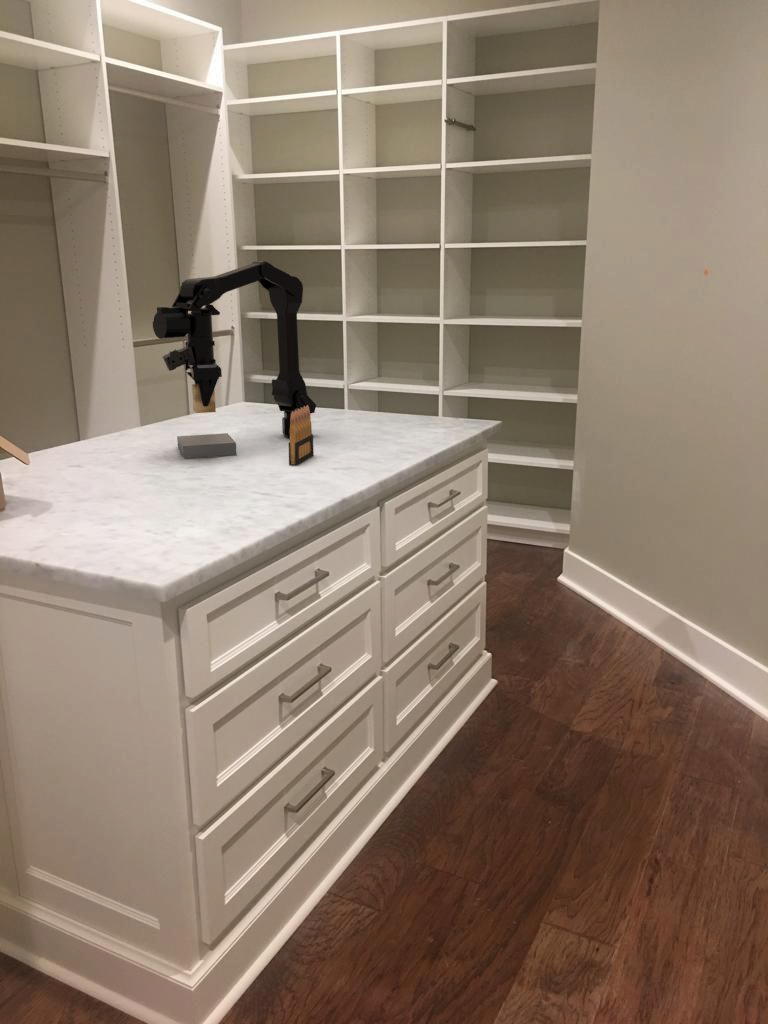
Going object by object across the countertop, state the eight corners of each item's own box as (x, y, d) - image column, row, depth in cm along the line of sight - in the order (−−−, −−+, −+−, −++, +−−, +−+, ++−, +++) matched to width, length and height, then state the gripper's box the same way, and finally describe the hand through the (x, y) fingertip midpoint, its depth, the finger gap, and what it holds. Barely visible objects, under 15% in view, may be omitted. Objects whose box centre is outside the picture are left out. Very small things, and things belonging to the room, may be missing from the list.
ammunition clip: (296, 465, 186) (295, 411, 182) (288, 465, 186) (287, 411, 183) (313, 455, 196) (312, 404, 192) (306, 455, 196) (305, 404, 193)
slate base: (228, 445, 207) (227, 433, 206) (236, 455, 196) (235, 442, 195) (177, 448, 203) (177, 436, 202) (183, 458, 192) (182, 446, 191)
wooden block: (212, 409, 199) (211, 383, 198) (215, 412, 195) (214, 386, 194) (193, 410, 198) (191, 384, 196) (196, 413, 194) (194, 387, 192)
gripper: (159, 334, 198) (164, 400, 202) (167, 340, 181) (172, 413, 185) (207, 332, 201) (211, 398, 206) (220, 339, 184) (223, 410, 189)
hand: (204, 404), depth 196 cm, fingers closed on wooden block, 4 cm apart
